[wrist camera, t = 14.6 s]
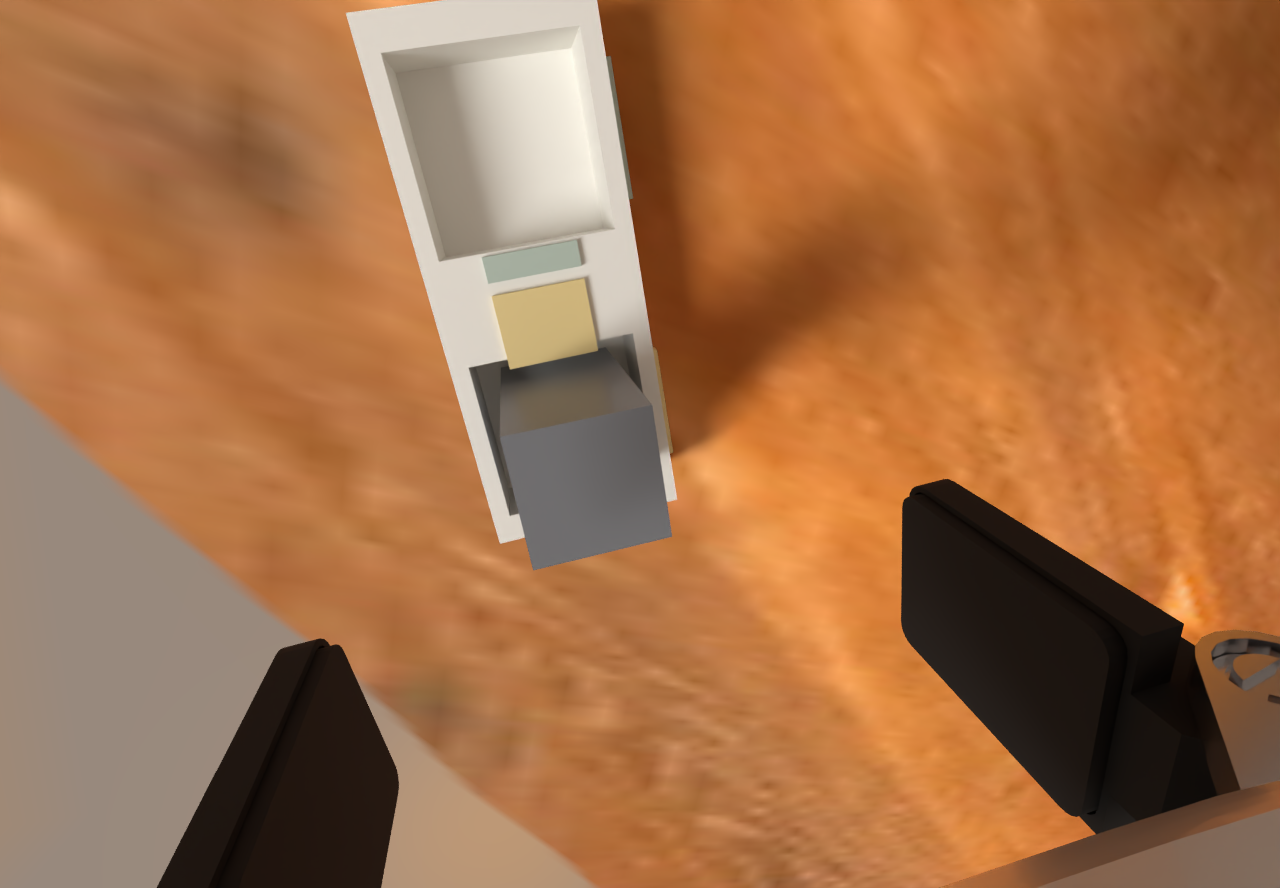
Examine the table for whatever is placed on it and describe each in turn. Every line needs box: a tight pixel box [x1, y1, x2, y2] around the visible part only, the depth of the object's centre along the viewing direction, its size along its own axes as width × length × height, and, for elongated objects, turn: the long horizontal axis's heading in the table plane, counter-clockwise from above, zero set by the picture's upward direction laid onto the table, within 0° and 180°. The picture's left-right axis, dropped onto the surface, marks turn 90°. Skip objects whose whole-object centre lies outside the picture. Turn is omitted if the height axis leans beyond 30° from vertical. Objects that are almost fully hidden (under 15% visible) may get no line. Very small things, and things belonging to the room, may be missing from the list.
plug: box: [500, 347, 672, 570], centre depth 20 cm, size 4×4×8 cm
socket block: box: [346, 0, 677, 544], centre depth 21 cm, size 7×17×4 cm, turn 10°
